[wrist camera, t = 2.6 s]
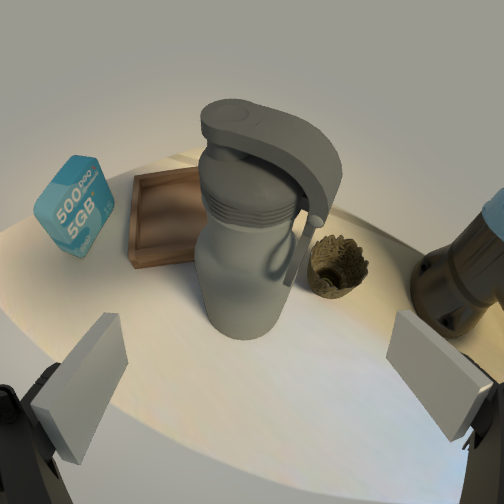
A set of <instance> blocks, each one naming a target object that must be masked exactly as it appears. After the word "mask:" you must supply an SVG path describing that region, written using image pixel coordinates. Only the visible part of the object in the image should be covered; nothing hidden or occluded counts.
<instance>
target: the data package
mask: <svg viewBox="0 0 504 504" xmlns="http://www.w3.org/2000/svg"><path fill="white" fill-rule="evenodd" d="M113 208H114V198H113V196H112V194H111V191H110V189H109V187H108V184H107V182H106V180H105V178H104V175H103V173H102V170H101V168H100V165H99V163H98V160H97V159H96V158H92V157H86V156H78V155H74V156H72V157H71V158H69V160H68V161H67V162H66V163H65V164H64V166H63V167H62V168H61V169H60V171H59V172H58V173H57V174H56V176H55V177H54V178H53V179H52V181H51V182H50V183H49V185H48V186H47V187H46V189H45V190H44V191H43V193H42V194H41V195H40V197H39V198H38V199H37V201H36V203H35V205H34V215H35V217H36V218H37V220H38V221H39V222H40V224H41V225H42V226H43V228H44V229H45V230H46V232H47V233H48V234H49V235H50V237H51V238H52V239H53V241H54V242H55V243H56V244H57V245H58V247H59V248H60V249H61V250H62V251H64V252H67V253H70V254H72V255H75V256H77V257H80V258H81V257H84V256H85V255H86V254H87V252H88V250H89V249H90V247H91V245H92V243H93V242H94V240H95V238H96V236H97V235H98V233H99V231H100V230H101V228H102V226H103V225H104V223H105V222H106V220H107V218H108V217H109V215H110V214H111V212H112V210H113Z"/></svg>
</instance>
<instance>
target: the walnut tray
mask: <svg viewBox="0 0 504 504" xmlns="http://www.w3.org/2000/svg"><path fill="white" fill-rule="evenodd" d="M207 224H208V219H207V212H206V210H205V208H204V206H203V204H202V199H201V190H200V181H199V172H198V167H190V168H182V169H175V170H168V171H161V172H155V173H149V174H142V175H137V176H134V184H133V193H132V203H131V214H130V228H129V245H128V258H129V260H130V261H131V263H132V265H133V267H134V268H135V269H139V268H147V267H155V266H162V265H170V264H178V263H185V262H193V261H195V258H194V256H195V246H196V243H197V239H198V237H199V235H200V233H201V231H202V230H203V228H204V227H205V226H206V225H207Z"/></svg>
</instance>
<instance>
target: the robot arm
mask: <svg viewBox="0 0 504 504" xmlns="http://www.w3.org/2000/svg"><path fill="white" fill-rule="evenodd" d="M410 286H411V296H412V300H413V303H414V306H415V309H416V311H417V313H418V315H419V316H420V318H421V319H420V318H419V317H418V316H417V315H415V314H414V313H413V312H412V311H410V310H400V311H397V314H396V319H395V323H394V327H393V332H392V336H391V340H390V344H389V347H388V351H387V355H386V358H387V360H388V361H389V362H390V363H391V365H392V366H393V367H394V369H395V370H396V371H397V372H398V374H399V375H400V376H401V377H402V379H403V380H404V381H405V383H406V384H407V385H408V387H409V388H410V389H411V390H412V392H413V393H414V394H415V396H416V397H417V398H418V400H419V401H420V402H421V404H422V405H423V406H424V408H425V409H426V410H427V412H428V413H429V414H430V416H431V417H432V418H433V420H434V421H435V422H436V424H437V425H438V426H439V428H440V429H441V430H442V432H443V433H444V434H445V436H446V437H447V439H448V440H449V441H450V442H452V441H454V440H457V439H459V438H461V437H463V436H464V435H465V433H466V432H467V430H468V428H469V427H470V426H471V427H472V428H473V429H474V430H473V432H472V434H471V435H470V437H469V438H468V440H467V441H466V443H465V444H464V446H463V448H462V450H464V449H465V448H466V446H467V445H468V444H469V448H468V451H469V453H468V461H467V467H466V473H465V479H464V484H463V489H462V494H461V499H460V503H459V504H504V382H503V383H501V384H499V383H497V382H496V381H495V380H494V379H493V378H492V377H491V376H490V375H489V374H488V373H487V372H485V371H484V370H483V369H482V368H480V366H479V365H478V364H476V363H475V362H474V361H473V360H472V359H471V358H470V357H469V356H467V355H465V354H463V353H461V352H459V351H458V350H457V349H456V348H454V347H453V346H452V345H451V344H450V343H449V342H447V341H446V340H445V339H444V338H443V337H446V338H455V337H459V336H461V335H463V334H465V333H466V332H468V331H470V330H471V329H472V328H473V327H474V326H475V325H476V324H477V322H478V321H479V320H480V319H481V317H482V316H483V315H484V313H485V312H486V311H487V309H488V308H489V307H490V306H491V305H493V304H494V303H496V302H499V304H500V305H501V307H502V309H503V310H504V188H502V189H500V190H499V191H498V192H497V194H496V195H495V196H494V197H493V198H492V199H491V200H490V201H488V202H487V203H486V204H485V205H484V206H483V208H482V211H481V212H480V213H479V214H478V216H477V217H476V218H475V219H474V220H473V221H472V222H471V223H470V224H469V226H468V227H467V228H466V229H465V230H464V231H463V232H462V233H461V234H460V235H459V236H458V238H456V239H455V241H454V242H453V243H452V244H449V245H447V246H445V247H442V248H440V249H437V250H435V251H432V252H430V253H428V254H427V255H426V256H424V257H423V258H422V260H421V261H420V262H419V263H418V264H417V265H416V266H415V268H414V270H413V273H412V276H411V285H410ZM127 365H128V359H127V355H126V350H125V345H124V340H123V335H122V329H121V324H120V318H119V314H117V313H103V315H102V316H101V317H100V318H99V319H98V320H97V321H96V323H95V324H94V325H93V326H92V327H91V328H90V329H89V331H88V332H87V333H86V334H85V335H84V337H83V338H82V339H81V340H80V341H79V342H78V344H77V345H76V346H75V347H74V348H73V350H72V351H71V352H70V353H69V355H68V356H67V357H66V358H65V359H64V361H63V362H62V363H57V362H56V363H54V364H53V365H51V366H50V367H48V368H47V369H46V370H45V371H44V372H43V373H42V375H41V376H40V378H38V379H37V381H36V382H35V384H34V385H33V386H32V387H31V388H30V389H29V391H28V392H27V393H26V394H25V396H24V397H23V398H22V400H21V401H19V399H18V397H17V395H16V393H15V391H14V389H13V388H12V387H11V386H9V385H5V384H2V385H0V504H73V502H72V500H71V498H70V496H69V494H68V491H67V489H66V487H65V485H64V482H63V480H62V477H61V475H60V472H59V470H58V467H57V465H56V462H55V460H54V459H53V457H52V456H53V454H54V452H55V450H56V451H57V453H58V454H59V455H60V457H61V459H62V460H65V461H68V462H71V463H74V464H77V465H81V463H82V460H83V458H84V456H85V453H86V451H87V449H88V447H89V444H90V442H91V440H92V437H93V435H94V433H95V431H96V429H97V426H98V424H99V422H100V420H101V418H102V416H103V414H104V412H105V409H106V407H107V405H108V403H109V401H110V399H111V397H112V395H113V393H114V391H115V389H116V387H117V385H118V383H119V381H120V379H121V377H122V375H123V373H124V371H125V369H126V367H127Z"/></svg>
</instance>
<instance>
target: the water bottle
mask: <svg viewBox="0 0 504 504" xmlns="http://www.w3.org/2000/svg"><path fill="white" fill-rule="evenodd" d="M201 131H202V134H203V136H204V137H205V138H206V139H207V147H206V149H205V150H204V151H203V153H202V154H201V157H200V159H199V165H198V172H199V181H200V190H201V199H202V204H203V206H204V208H205V210H206V212H207V219H208V224H207V225H206V226H205V227H204V228H203V230H202V231H201V233H200V235H199V237H198V239H197V243H196V246H195V256H194V258H195V265H196V271H197V275H198V279H199V283H200V287H201V291H202V295H203V299H204V303H205V306H206V310H207V314H208V317H209V319H210V321H211V323H212V324H213V326H214V327H215V328H216V329H217V330H218V331H219V332H220V333H222V334H224V335H225V336H227V337H230V338H232V339H237V340H251V339H256V338H258V337H261V336H263V335H264V334H266V333H267V332H269V331H270V330H271V329H272V328H273V326H274V325H275V324H276V322H277V320H278V318H279V316H280V314H281V311H282V309H283V307H284V304H285V302H286V300H287V297H288V295H289V293H290V290H291V288H292V286H293V283H294V281H295V278H296V276H297V273H298V269H299V266H300V264H301V262H302V260H303V257H304V255H305V253H306V250H307V248H308V246H309V243H310V241H311V239H312V236H313V234H314V231H315V229H316V228H321V227H323V226H324V224H325V221H326V219H327V216H328V214H329V211H330V209H331V206H332V203H333V201H334V198H335V195H336V193H337V190H338V188H339V185H340V182H341V179H342V165H341V162H340V159H339V156H338V153H337V151H336V150H335V148H334V147H333V145H332V143H331V142H330V140H328V139H327V137H326V136H325V135H324V134H323V133H322V132H321V131H320V130H319V129H317V128H316V127H314V126H313V125H311V124H310V123H309V122H307V121H305V120H303V119H300V118H299V117H296V116H293V115H291V114H288V113H285V112H282V111H279V110H275V109H272V108H269V107H265V106H261V105H257V104H254V103H252V102H249V101H246V100H241V99H223V100H219V101H215V102H213V103H210V104H208V105H207V106H206V107H205V108H204V109H203V110H202V111H201ZM301 209H302V210H305V211H307V212H309V213H308V216H307V221H306V224H305V227H304V230H303V233H302V236H301V238H300V240H299V242H298V241H297V238H296V236H295V234H294V233H293V231H292V227H293V223H294V219H295V218H296V217H297V215H298V214H299V212H300V211H301Z"/></svg>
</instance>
